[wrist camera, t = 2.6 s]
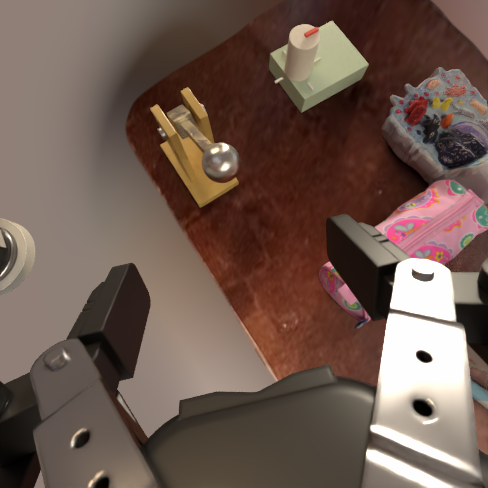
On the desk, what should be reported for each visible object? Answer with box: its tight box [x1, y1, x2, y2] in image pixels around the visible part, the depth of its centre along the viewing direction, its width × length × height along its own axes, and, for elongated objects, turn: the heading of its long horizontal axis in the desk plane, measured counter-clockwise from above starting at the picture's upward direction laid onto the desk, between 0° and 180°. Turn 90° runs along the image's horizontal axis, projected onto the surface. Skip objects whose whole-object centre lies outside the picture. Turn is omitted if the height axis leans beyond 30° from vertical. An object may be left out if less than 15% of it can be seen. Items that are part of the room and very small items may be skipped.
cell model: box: [381, 67, 488, 204], centre depth 37 cm, size 13×11×20 cm
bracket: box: [150, 87, 238, 208], centre depth 36 cm, size 12×7×13 cm, turn 33°
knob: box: [284, 24, 320, 81], centre depth 39 cm, size 4×4×6 cm
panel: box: [269, 21, 369, 113], centre depth 44 cm, size 14×10×3 cm
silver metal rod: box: [167, 105, 241, 183], centre depth 28 cm, size 14×4×4 cm, turn 33°
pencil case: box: [319, 179, 488, 329], centre depth 35 cm, size 21×9×9 cm, turn 125°
